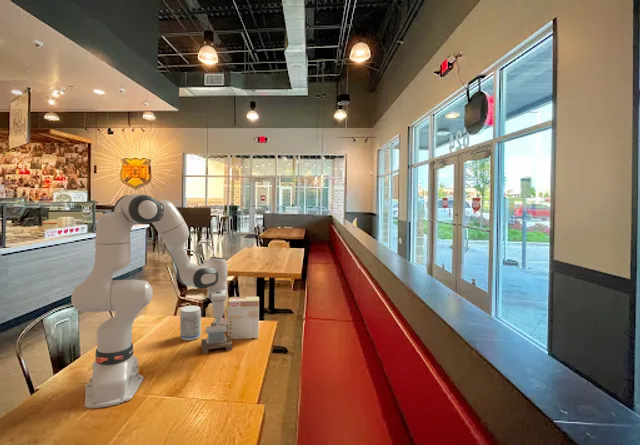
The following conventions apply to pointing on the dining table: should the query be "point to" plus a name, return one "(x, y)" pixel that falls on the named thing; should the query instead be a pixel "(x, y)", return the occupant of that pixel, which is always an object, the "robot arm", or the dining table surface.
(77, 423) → the dining table surface
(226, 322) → the brick
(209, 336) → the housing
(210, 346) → the stand
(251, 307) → the coffeecake box
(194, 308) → the supplement tub
